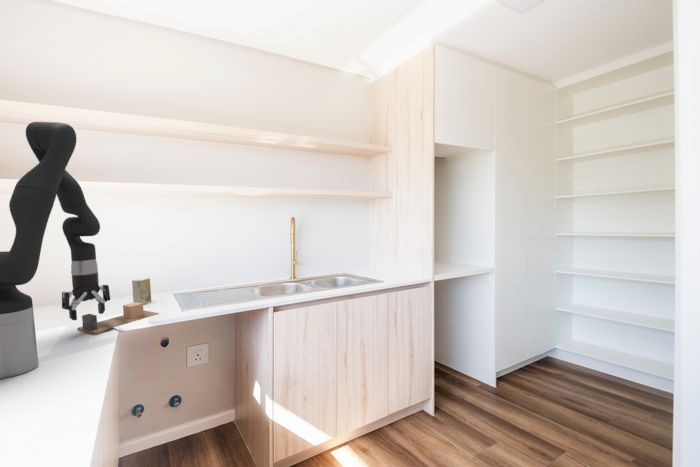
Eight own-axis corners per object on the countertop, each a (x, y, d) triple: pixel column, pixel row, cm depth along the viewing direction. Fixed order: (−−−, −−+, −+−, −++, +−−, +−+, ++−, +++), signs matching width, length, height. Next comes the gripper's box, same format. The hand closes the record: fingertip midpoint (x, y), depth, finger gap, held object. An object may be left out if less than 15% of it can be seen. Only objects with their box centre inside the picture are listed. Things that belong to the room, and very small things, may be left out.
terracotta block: (131, 319, 137) (130, 306, 136) (123, 317, 139) (123, 305, 139) (143, 315, 141) (142, 303, 141) (136, 313, 143) (135, 302, 143)
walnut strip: (94, 335, 122) (93, 319, 122) (77, 329, 128) (76, 314, 128) (159, 315, 143) (158, 301, 143) (142, 311, 149) (141, 298, 149)
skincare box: (141, 307, 156) (139, 280, 155) (133, 307, 156) (131, 280, 155) (152, 303, 162) (150, 277, 161) (144, 303, 163) (142, 277, 162)
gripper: (66, 276, 117) (70, 323, 118) (112, 269, 129) (115, 312, 130) (55, 275, 120) (59, 321, 121) (101, 268, 133) (104, 310, 134)
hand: (88, 316), depth 126 cm, fingers open, 8 cm apart
